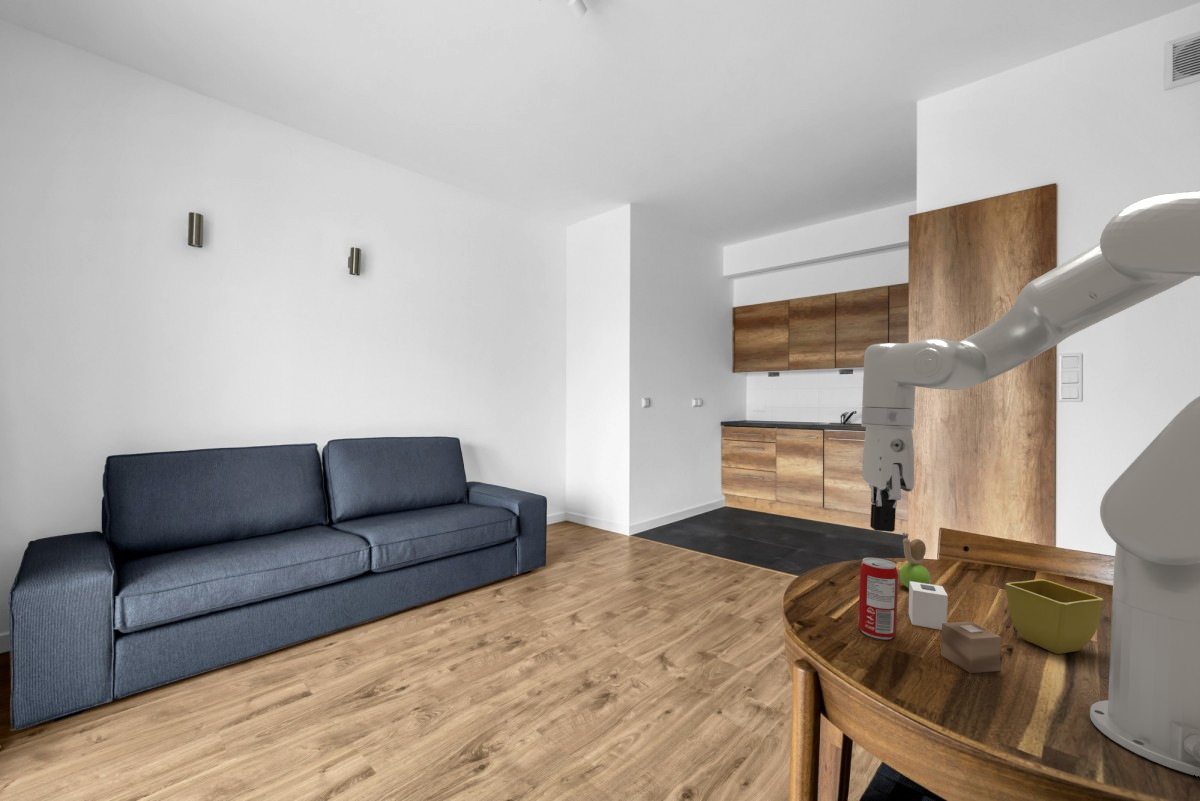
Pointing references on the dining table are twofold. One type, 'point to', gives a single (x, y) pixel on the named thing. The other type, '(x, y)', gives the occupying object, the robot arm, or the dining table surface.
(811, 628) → the dining table surface
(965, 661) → the walnut block
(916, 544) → the snail figurine
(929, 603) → the white block
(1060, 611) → the flower pot
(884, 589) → the soda can
